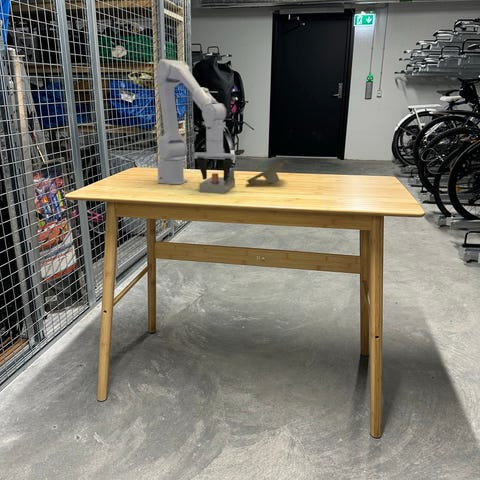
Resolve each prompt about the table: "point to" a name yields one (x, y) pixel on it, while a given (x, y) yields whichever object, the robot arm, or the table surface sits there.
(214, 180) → the cylindrical pin
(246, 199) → the table surface
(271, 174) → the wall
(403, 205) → the table surface
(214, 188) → the silver box with hole
